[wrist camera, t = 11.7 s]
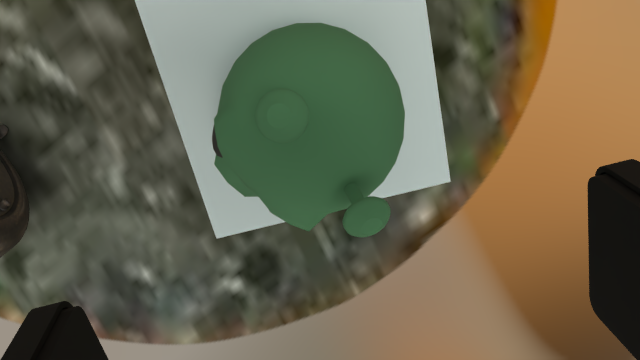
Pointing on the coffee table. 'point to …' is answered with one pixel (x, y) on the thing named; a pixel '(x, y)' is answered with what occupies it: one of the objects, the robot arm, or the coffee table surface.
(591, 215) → the robot arm
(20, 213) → the alarm clock
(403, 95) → the brick tower
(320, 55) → the alien toy
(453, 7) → the coffee table surface
